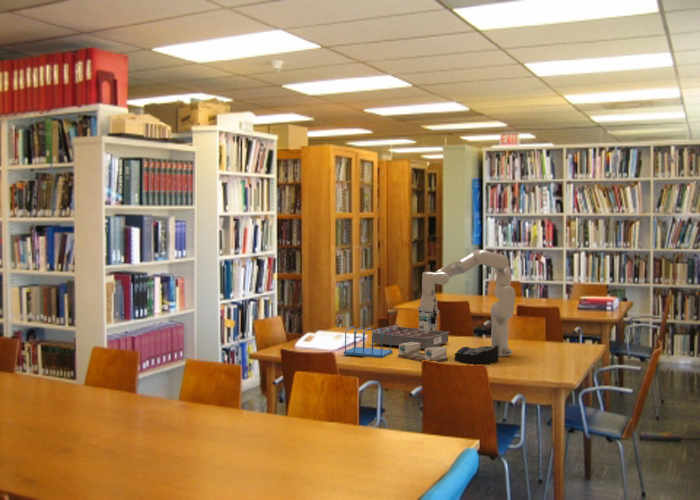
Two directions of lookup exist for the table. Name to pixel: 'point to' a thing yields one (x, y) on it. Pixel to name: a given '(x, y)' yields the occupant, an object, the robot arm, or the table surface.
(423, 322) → the light bulb box
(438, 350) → the rail board
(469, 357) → the topographical model
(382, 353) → the file sorter
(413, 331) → the organizer tray
